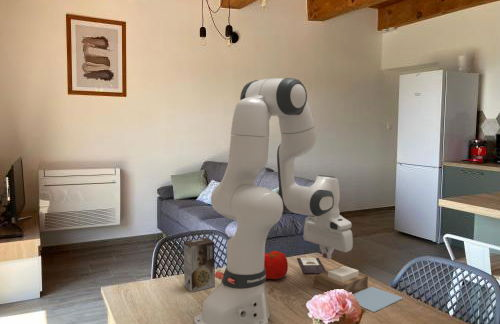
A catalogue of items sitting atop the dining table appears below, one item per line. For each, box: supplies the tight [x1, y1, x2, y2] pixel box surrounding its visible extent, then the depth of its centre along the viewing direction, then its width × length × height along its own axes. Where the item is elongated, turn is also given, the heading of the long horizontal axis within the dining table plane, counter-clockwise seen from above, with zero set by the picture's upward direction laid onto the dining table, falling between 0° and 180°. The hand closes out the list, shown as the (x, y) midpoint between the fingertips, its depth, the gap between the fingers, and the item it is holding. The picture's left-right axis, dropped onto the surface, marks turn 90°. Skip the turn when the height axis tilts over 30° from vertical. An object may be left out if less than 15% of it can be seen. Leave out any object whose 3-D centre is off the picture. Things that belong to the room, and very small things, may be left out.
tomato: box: [264, 250, 289, 280], centre depth 155 cm, size 11×12×9 cm
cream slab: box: [327, 265, 360, 282], centre depth 145 cm, size 9×6×2 cm, turn 129°
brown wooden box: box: [313, 266, 369, 294], centre depth 146 cm, size 14×12×4 cm
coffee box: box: [183, 237, 216, 293], centre depth 145 cm, size 9×6×16 cm
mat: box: [353, 286, 404, 313], centre depth 136 cm, size 16×12×1 cm
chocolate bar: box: [296, 257, 327, 276], centre depth 167 cm, size 9×1×18 cm
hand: (326, 257), depth 151 cm, fingers closed
